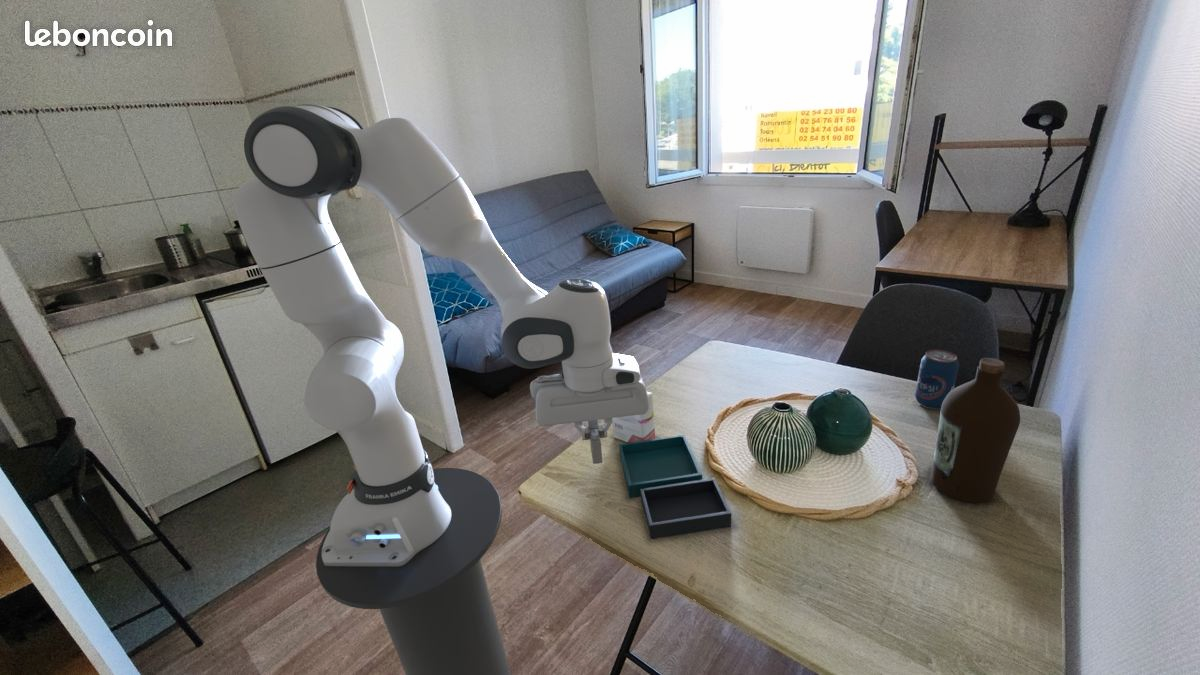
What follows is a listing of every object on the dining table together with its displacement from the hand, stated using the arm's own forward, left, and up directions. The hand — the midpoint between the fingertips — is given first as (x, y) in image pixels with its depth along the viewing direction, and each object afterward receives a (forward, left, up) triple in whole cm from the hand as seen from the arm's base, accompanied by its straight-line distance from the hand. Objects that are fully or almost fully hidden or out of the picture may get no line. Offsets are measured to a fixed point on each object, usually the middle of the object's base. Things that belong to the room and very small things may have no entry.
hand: (594, 437), depth 92 cm
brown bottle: (+64, -12, -13) cm, 67 cm away
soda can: (+77, +13, -13) cm, 79 cm away
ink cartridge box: (+9, +16, -13) cm, 23 cm away
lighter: (0, 0, -3) cm, 3 cm away
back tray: (+12, +4, -13) cm, 18 cm away
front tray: (+14, -9, -13) cm, 21 cm away
